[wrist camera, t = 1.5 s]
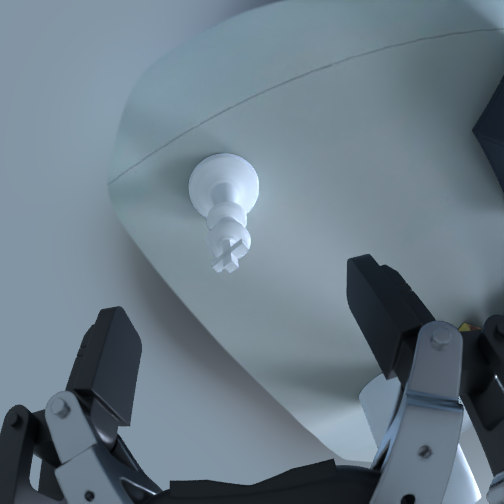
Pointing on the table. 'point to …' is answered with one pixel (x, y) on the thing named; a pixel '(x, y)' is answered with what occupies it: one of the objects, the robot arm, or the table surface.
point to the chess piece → (225, 205)
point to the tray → (493, 132)
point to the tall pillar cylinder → (378, 415)
